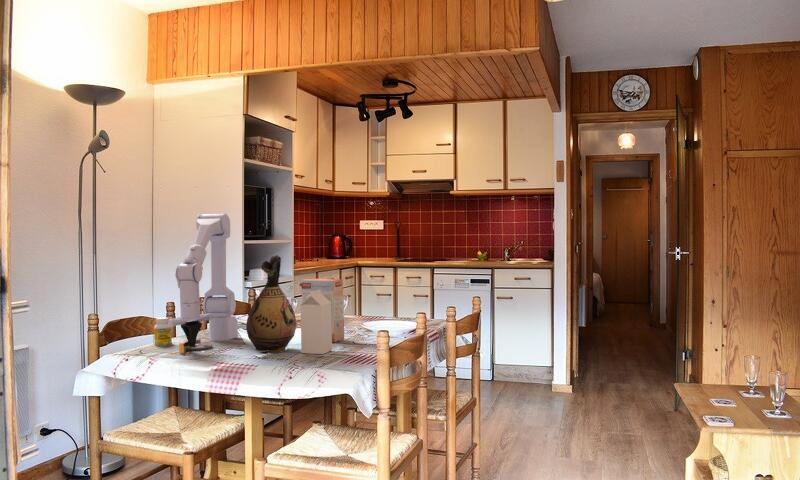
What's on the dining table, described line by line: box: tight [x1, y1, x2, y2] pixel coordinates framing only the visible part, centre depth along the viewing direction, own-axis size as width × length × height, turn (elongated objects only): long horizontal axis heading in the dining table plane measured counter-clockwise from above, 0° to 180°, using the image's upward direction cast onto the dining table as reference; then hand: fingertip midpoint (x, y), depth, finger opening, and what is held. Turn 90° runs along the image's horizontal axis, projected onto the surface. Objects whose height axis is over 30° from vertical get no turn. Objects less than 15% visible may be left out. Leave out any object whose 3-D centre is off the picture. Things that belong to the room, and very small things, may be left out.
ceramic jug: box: [245, 255, 297, 354], centre depth 211 cm, size 17×15×30 cm
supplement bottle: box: [153, 317, 173, 347], centre depth 221 cm, size 5×5×10 cm
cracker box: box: [301, 278, 345, 343], centre depth 229 cm, size 14×6×21 cm, turn 58°
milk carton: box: [300, 290, 333, 355], centre depth 207 cm, size 7×7×19 cm
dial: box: [178, 338, 213, 353], centre depth 210 cm, size 14×10×3 cm
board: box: [150, 341, 241, 357], centre depth 213 cm, size 20×20×1 cm
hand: (191, 346), depth 206 cm, fingers closed, pressing on dial
